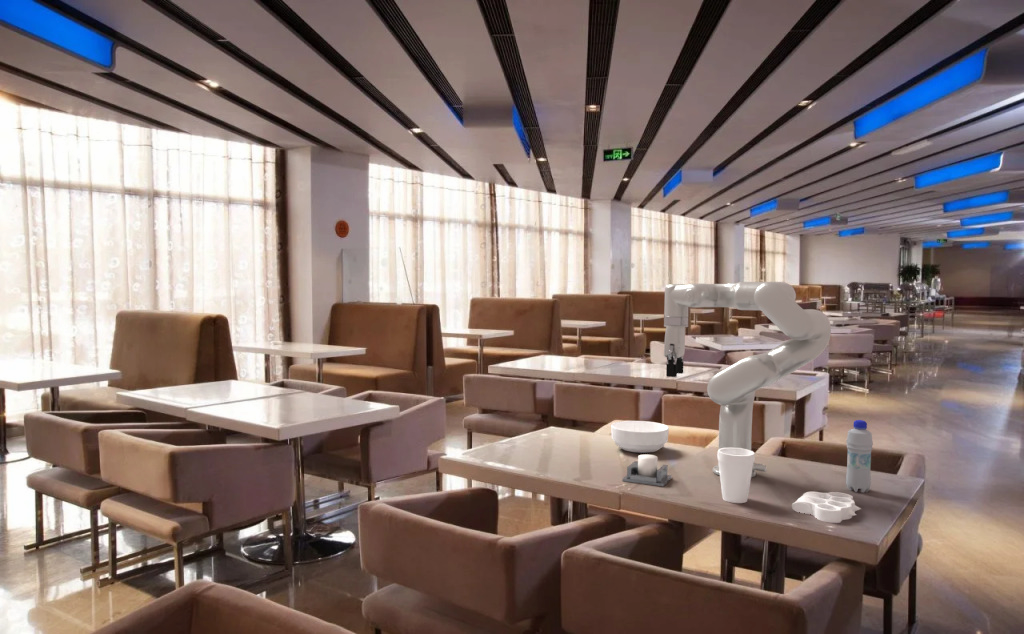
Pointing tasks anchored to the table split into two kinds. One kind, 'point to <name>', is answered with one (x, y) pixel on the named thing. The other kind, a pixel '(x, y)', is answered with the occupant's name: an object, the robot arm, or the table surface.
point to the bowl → (639, 435)
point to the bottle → (859, 457)
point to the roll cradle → (635, 478)
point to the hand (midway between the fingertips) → (674, 374)
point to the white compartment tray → (826, 506)
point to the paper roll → (647, 465)
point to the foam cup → (735, 473)
